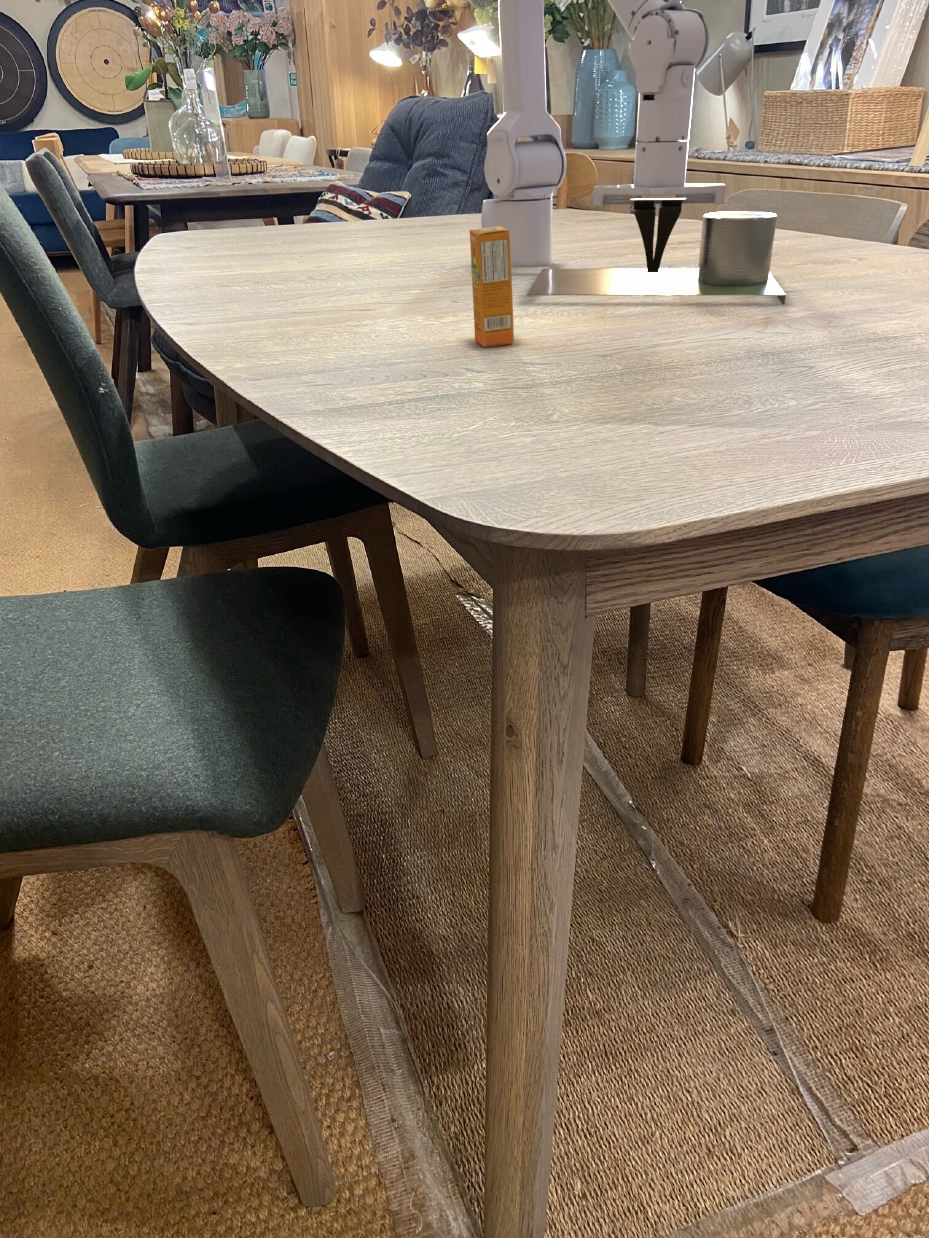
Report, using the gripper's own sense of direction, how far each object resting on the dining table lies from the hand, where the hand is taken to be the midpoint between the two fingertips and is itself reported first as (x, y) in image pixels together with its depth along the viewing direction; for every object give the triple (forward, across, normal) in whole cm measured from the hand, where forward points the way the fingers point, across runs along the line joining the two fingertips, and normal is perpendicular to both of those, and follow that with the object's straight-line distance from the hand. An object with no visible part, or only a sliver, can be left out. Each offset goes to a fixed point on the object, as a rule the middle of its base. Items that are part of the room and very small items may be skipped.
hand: (652, 272), depth 104 cm
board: (+2, 0, 0) cm, 2 cm away
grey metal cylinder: (+1, +9, 0) cm, 9 cm away
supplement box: (+2, -15, -28) cm, 32 cm away
